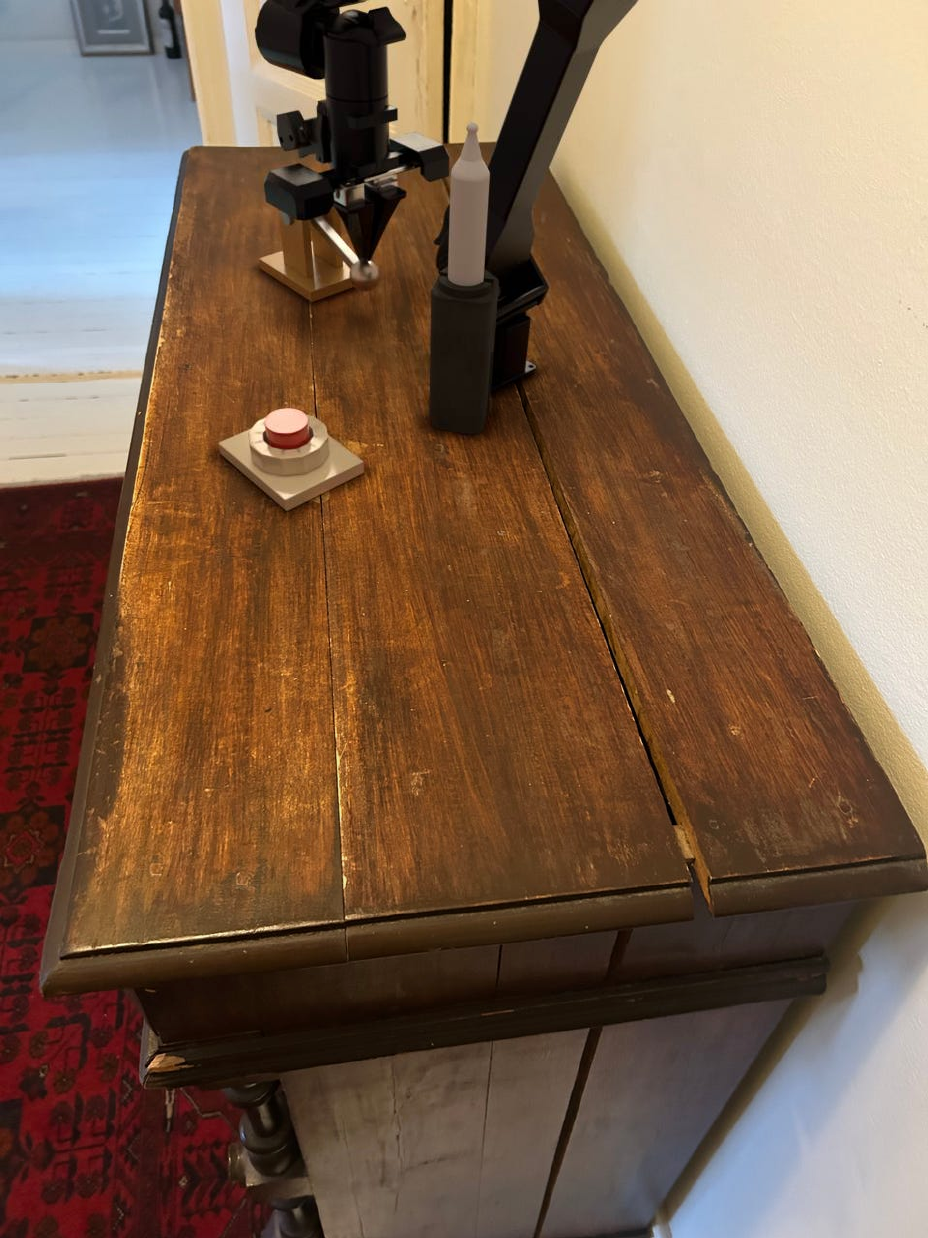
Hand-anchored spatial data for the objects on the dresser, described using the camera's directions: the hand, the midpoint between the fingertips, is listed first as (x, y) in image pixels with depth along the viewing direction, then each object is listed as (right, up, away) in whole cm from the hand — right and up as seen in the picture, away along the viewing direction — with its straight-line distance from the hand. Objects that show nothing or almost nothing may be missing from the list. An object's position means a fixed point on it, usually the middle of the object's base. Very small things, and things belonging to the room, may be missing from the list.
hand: (364, 260), depth 90 cm
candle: (+10, -19, -9) cm, 23 cm away
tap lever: (-4, +2, +4) cm, 5 cm away
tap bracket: (-7, +2, +8) cm, 11 cm away
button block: (-5, -24, -15) cm, 29 cm away
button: (-4, -22, -17) cm, 28 cm away
